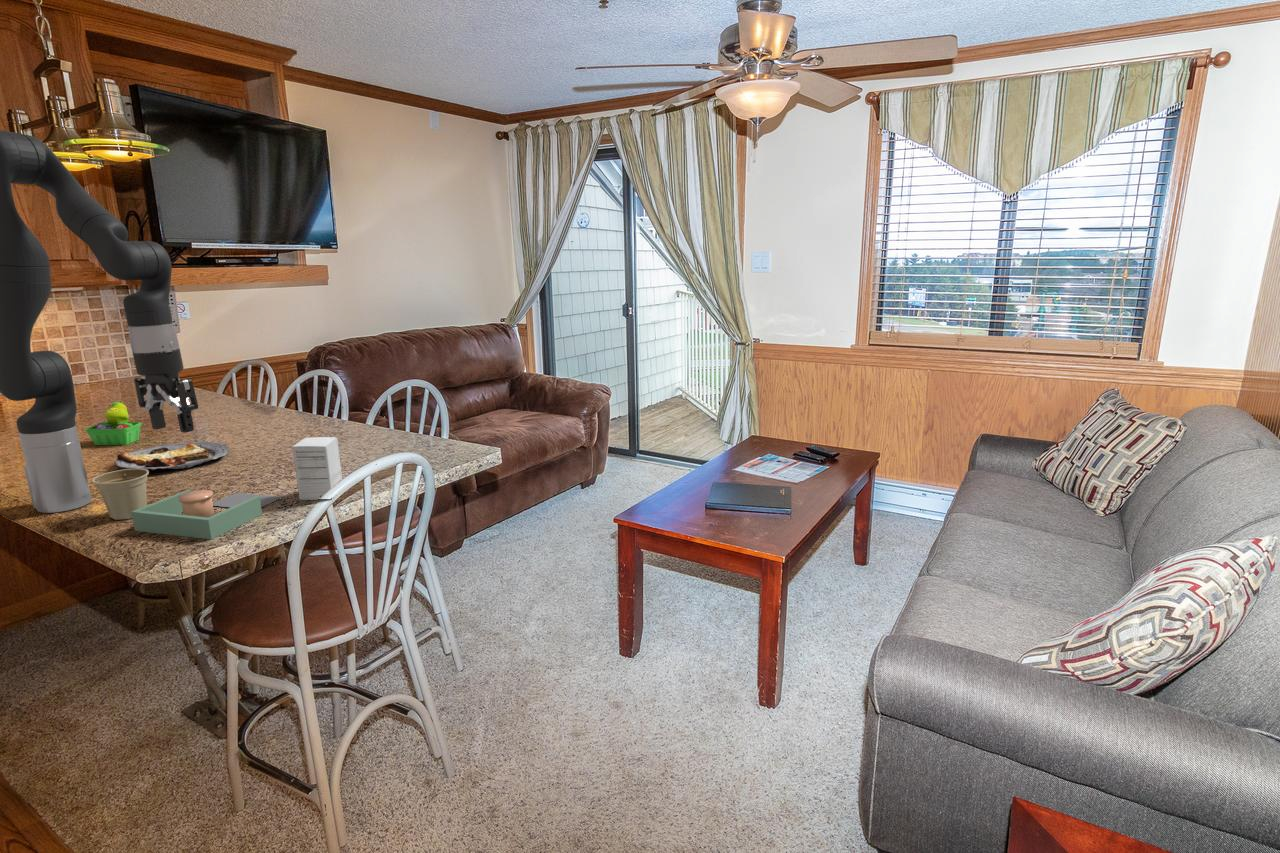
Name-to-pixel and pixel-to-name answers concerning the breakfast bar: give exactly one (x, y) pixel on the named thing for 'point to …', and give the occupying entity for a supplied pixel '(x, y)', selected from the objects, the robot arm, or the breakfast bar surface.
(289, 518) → the breakfast bar surface
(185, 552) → the breakfast bar surface
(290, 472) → the breakfast bar surface
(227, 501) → the slate mat
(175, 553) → the breakfast bar surface
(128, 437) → the fruit basket
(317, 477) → the supplement box
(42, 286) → the robot arm
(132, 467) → the food plate
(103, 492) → the flower pot
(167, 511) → the green u-shaped frame
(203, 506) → the tan round knob
